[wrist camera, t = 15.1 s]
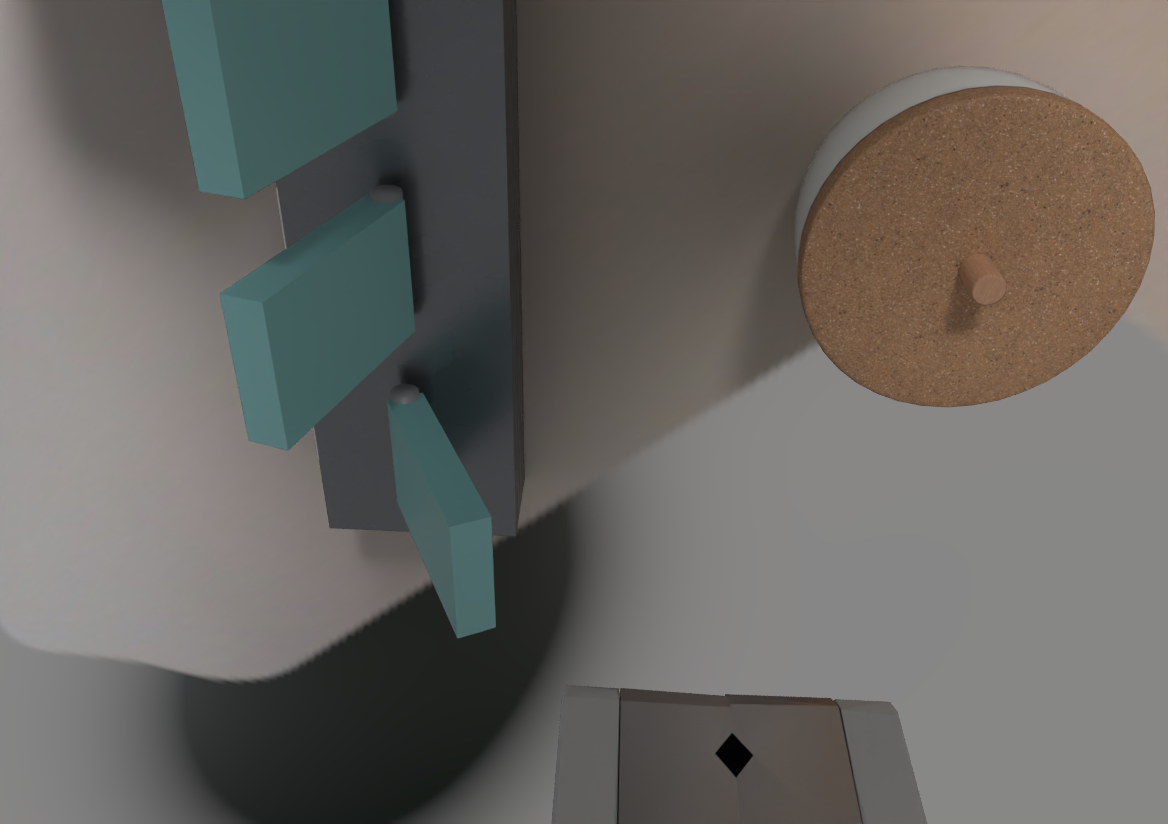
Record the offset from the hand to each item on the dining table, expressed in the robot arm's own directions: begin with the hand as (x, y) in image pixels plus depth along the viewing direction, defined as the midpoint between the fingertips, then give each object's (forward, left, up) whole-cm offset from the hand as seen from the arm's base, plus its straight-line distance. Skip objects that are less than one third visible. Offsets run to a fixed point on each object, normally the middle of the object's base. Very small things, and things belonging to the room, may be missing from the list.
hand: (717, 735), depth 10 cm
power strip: (+8, -9, -31) cm, 33 cm away
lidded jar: (+6, +10, -31) cm, 33 cm away
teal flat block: (+16, -9, -26) cm, 32 cm away
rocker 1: (0, -9, -26) cm, 28 cm away
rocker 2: (+8, -9, -26) cm, 29 cm away
